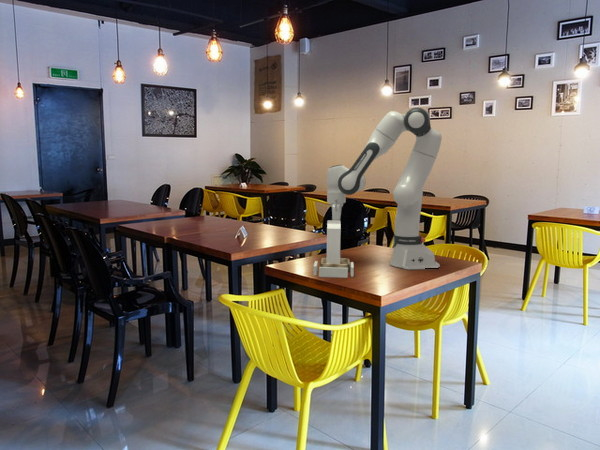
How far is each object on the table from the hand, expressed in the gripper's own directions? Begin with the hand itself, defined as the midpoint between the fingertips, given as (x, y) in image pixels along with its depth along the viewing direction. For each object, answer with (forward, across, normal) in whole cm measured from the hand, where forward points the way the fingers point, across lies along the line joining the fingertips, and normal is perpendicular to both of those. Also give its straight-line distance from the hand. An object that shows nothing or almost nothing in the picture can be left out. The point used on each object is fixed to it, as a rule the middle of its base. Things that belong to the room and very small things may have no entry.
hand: (336, 227), depth 236 cm
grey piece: (+16, -26, +1) cm, 30 cm away
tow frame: (+16, -9, +1) cm, 18 cm away
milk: (+16, -18, +2) cm, 24 cm away
